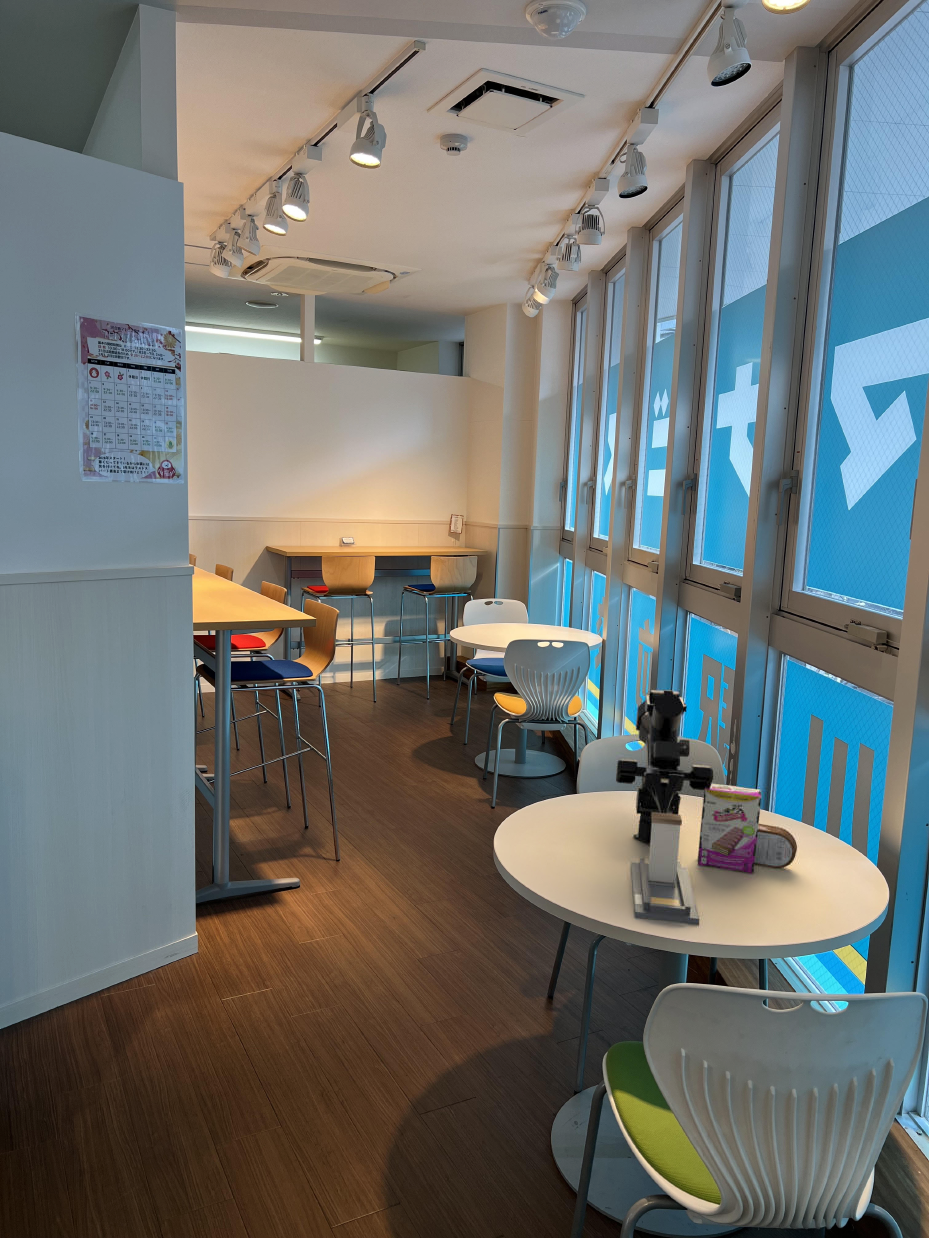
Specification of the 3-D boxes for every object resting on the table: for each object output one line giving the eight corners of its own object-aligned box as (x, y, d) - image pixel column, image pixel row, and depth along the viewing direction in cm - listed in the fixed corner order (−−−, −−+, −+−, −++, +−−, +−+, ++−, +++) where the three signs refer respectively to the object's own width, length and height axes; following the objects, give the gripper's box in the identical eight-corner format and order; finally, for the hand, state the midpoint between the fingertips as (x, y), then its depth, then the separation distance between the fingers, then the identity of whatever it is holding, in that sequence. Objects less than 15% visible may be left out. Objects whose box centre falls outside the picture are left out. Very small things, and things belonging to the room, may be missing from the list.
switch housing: (630, 866, 172) (631, 854, 172) (686, 872, 170) (687, 860, 170) (635, 917, 150) (635, 903, 150) (699, 924, 149) (700, 910, 148)
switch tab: (647, 874, 165) (651, 812, 163) (675, 877, 164) (680, 814, 163) (647, 880, 162) (652, 817, 160) (676, 883, 161) (681, 820, 160)
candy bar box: (697, 866, 174) (703, 788, 171) (697, 857, 178) (704, 781, 176) (755, 875, 170) (762, 796, 168) (754, 865, 175) (761, 788, 173)
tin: (795, 867, 175) (798, 828, 173) (794, 873, 172) (798, 834, 170) (719, 853, 180) (722, 815, 179) (717, 859, 178) (720, 821, 176)
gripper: (620, 719, 172) (617, 790, 162) (715, 727, 169) (719, 799, 159) (617, 747, 180) (614, 815, 171) (707, 754, 178) (710, 824, 168)
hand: (663, 813), depth 167 cm, fingers closed
